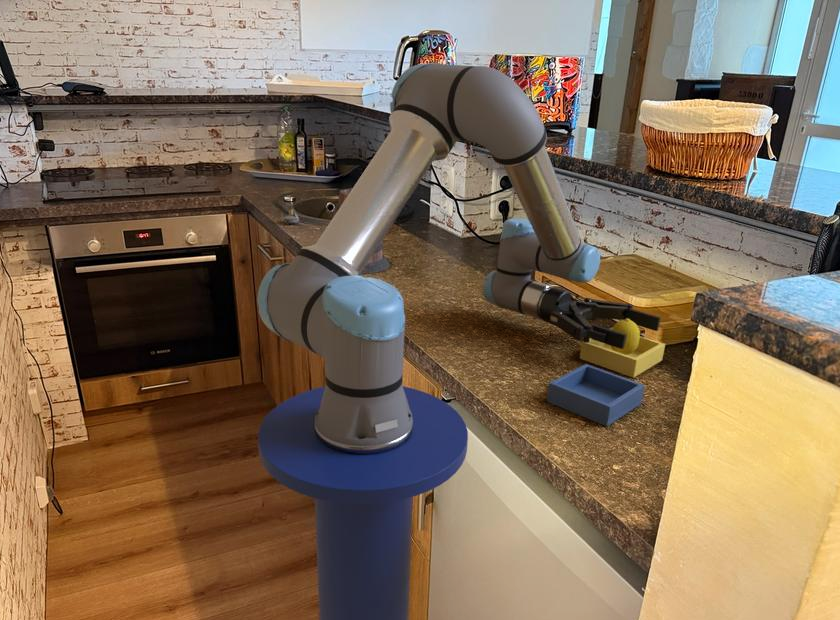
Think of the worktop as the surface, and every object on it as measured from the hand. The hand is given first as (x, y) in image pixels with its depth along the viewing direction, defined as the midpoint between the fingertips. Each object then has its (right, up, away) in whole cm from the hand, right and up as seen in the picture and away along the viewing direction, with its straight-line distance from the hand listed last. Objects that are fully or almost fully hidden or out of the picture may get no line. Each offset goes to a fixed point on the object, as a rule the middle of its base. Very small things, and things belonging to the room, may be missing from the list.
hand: (642, 332), depth 129 cm
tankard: (-59, +22, +61) cm, 88 cm away
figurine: (-84, +40, +98) cm, 135 cm away
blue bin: (-12, -12, -12) cm, 21 cm away
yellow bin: (-3, -5, +5) cm, 7 cm away
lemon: (-3, -5, +5) cm, 7 cm away
